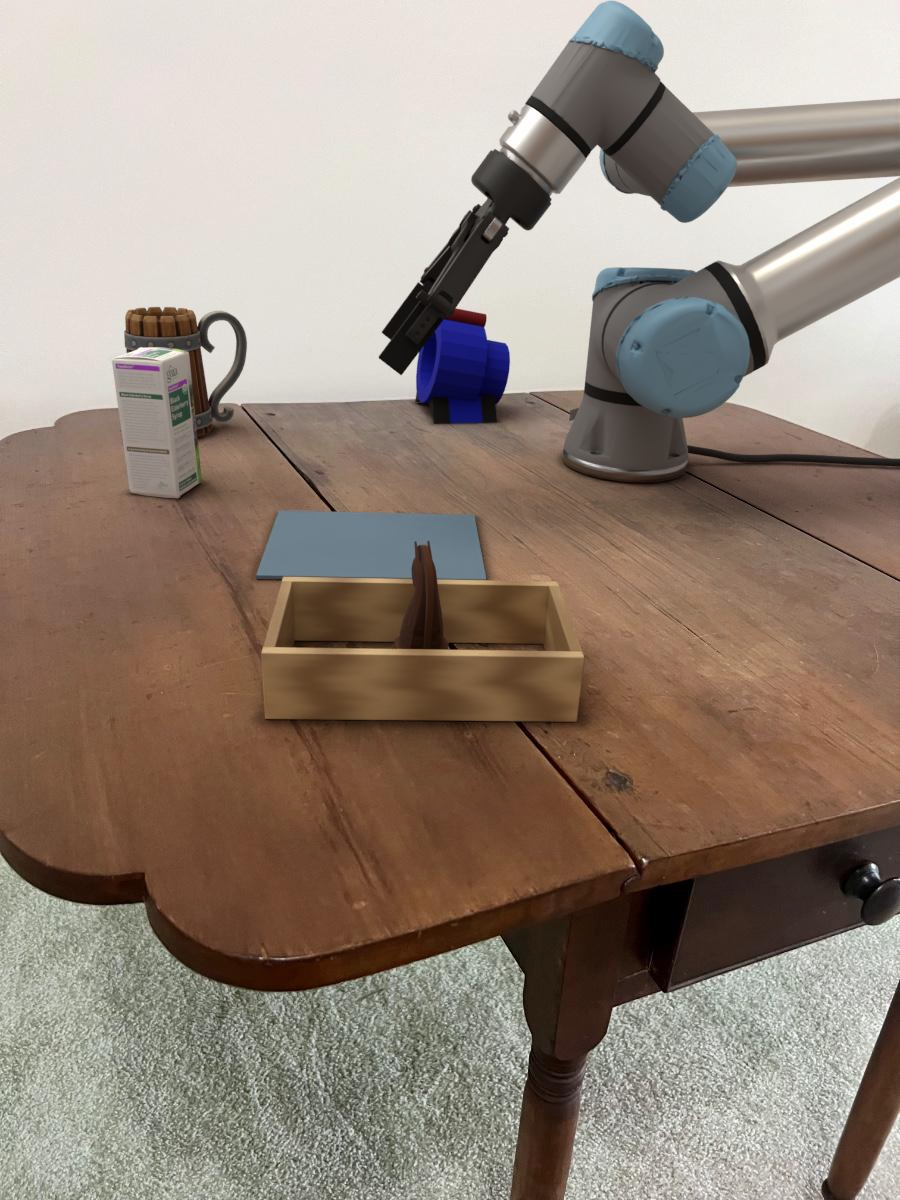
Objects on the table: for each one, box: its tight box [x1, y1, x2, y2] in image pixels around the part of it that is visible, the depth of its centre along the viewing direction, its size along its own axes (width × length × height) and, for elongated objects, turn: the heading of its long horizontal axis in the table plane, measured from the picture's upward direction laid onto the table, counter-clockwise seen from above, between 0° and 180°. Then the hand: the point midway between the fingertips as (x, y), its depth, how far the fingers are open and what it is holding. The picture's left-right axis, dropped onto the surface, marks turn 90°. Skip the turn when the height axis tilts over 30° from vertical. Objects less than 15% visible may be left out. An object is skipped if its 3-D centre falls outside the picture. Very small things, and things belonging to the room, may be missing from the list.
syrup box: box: [111, 347, 203, 499], centre depth 96 cm, size 6×6×14 cm
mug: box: [123, 306, 248, 439], centre depth 116 cm, size 16×11×15 cm
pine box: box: [260, 577, 585, 723], centre depth 65 cm, size 21×12×5 cm, turn 93°
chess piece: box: [393, 541, 449, 650], centre depth 64 cm, size 5×5×10 cm
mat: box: [255, 509, 488, 581], centre depth 87 cm, size 20×16×1 cm
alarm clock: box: [415, 307, 511, 425], centre depth 131 cm, size 12×12×15 cm
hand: (390, 352), depth 94 cm, fingers open, 13 cm apart
